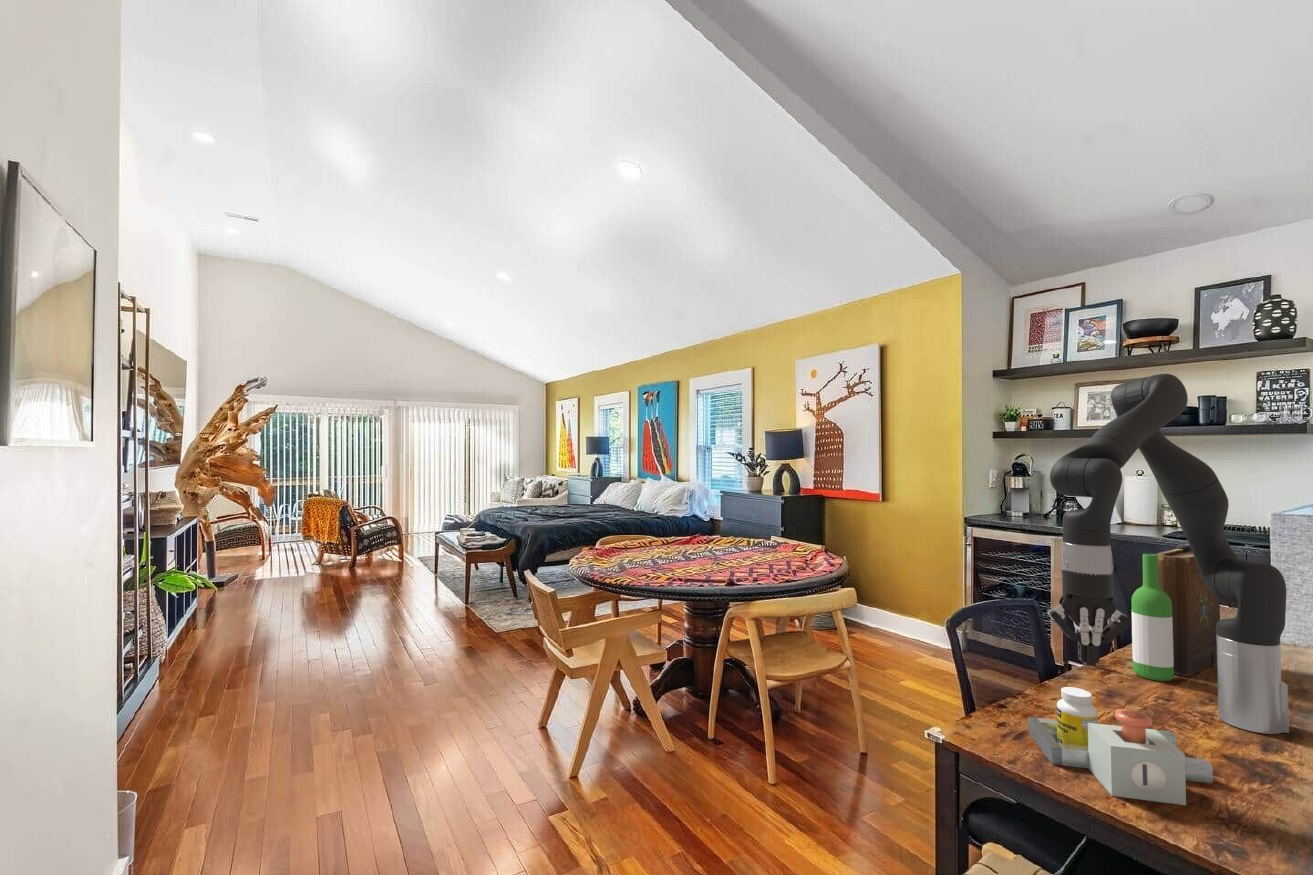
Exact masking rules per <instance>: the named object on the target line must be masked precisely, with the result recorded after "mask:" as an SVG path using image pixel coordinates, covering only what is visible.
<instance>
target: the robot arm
mask: <svg viewBox="0 0 1313 875" xmlns="http://www.w3.org/2000/svg"><path fill="white" fill-rule="evenodd" d="M1188 398H1189V397H1188V392H1187V388H1186V387H1185V385H1184V383H1183V382H1182V381H1181V380H1180V379H1179V377H1177V376H1175V375H1173V374H1169V373H1158V374H1154V375H1149V376H1146V377H1140V378H1139V379H1134V380H1131V381H1127V382H1124V383H1119V384H1118V385H1115V386H1114V387H1113V388H1112V390H1111V393H1110V399H1111V400H1110V401H1111V405H1112V407H1113V410H1114V412H1115V414H1116V416H1117V417H1115V418H1114V419H1111V420H1110V421H1109V422H1106V424H1104V425H1103V426H1102V427H1100V428H1099V429H1098V430H1097V431H1095V433H1094V434H1093V435H1092V436H1091V438H1090V439H1089V440H1088V441H1086V443H1085V444H1083V445H1080V446H1078V447H1077V448H1075V449H1073V450H1071V451H1070V452H1067V453H1065V454H1064V455H1063V456H1061V457H1060V458H1058V460H1057V461H1056V462H1054V464H1053V466H1052V467H1051V470H1050V473H1049V482H1050V484H1051V487H1052V488H1053V489H1054V490H1055V492H1057V493H1059V494H1060V495H1063V496H1067V497H1078V498H1079V497H1082V498H1091V501H1090V503H1089V505H1088V506H1087V507H1086V508H1080V509H1070V510H1067V511H1065V512H1064V514H1063V516H1062V550H1061V593H1062V594H1061V598H1060V599H1059V603H1058V605H1056V606H1055V607H1053V608H1047V609H1046V615H1048V616H1049V618H1050V619H1051V620H1052V621H1053V622H1054V623H1055V625H1056V626H1057V627H1058V628H1059V629H1060V630H1061V632H1063V634H1064V635H1065V636H1066V637H1068V638H1069V639H1070V640H1071V641H1074V642H1077V657H1078V660H1079V661H1080V662H1081V663H1082V664H1083V665H1084V666H1089V667H1096V666H1097V664H1099V663H1100V646H1101V645H1103V644H1110V643H1112V642H1114V640H1115V639H1116V638H1117V637H1118V636H1119V635H1120V634H1121V633H1122V632H1123V631H1124V630H1125V629H1126V628H1127V626H1128V625H1130V624H1131V623H1132V617H1129V615H1126V614H1124V613H1122V612H1121V611H1119V610H1118V609H1117V605H1116V603H1115V600H1114V570H1115V569H1114V568H1115V567H1114V566H1115V565H1114V560H1113V558H1114V557H1113V553H1112V546H1111V544H1112V542H1111V541H1112V540H1111V533H1112V532H1111V522H1112V518H1113V512H1114V509H1115V505H1116V502H1117V500H1118V497H1119V494H1120V491H1121V487H1122V484H1123V472H1122V470H1121V469H1122V468H1123V467H1125V465H1126V464H1127V463H1128V462H1129V461H1130V459H1131V457H1132V456H1134V454H1135V453H1136V452H1137V450H1139V451H1140V453H1141V454H1142V456H1143V458H1144V459H1145V461H1146V463H1147V465H1148V467H1149V469H1150V471H1151V472H1152V474H1153V476H1154V478H1155V481H1156V482H1157V485H1158V486H1159V489H1160V491H1161V493H1162V495H1163V497H1164V498H1165V500H1166V502H1167V504H1168V506H1169V508H1170V510H1171V511H1172V513H1173V514H1174V516H1175V518H1176V520H1177V522H1178V523H1179V526H1180V529H1181V530H1182V533H1183V534H1184V537H1185V538H1186V540H1187V544H1189V545H1190V547H1191V549H1192V552H1193V555H1194V557H1195V560H1196V563H1197V565H1198V568H1199V571H1200V573H1201V576H1202V578H1203V580H1204V583H1205V585H1206V586H1207V588H1208V589H1209V591H1210V592H1211V593H1212V594H1214V595H1215V596H1216V597H1218V598H1220V600H1223V601H1225V602H1230V603H1234V604H1237V612H1236V615H1235V616H1234V617H1232V618H1222V619H1221V618H1220V620H1219V621H1218V622H1217V624H1216V638H1217V665H1216V666H1217V710H1218V718H1219V719H1220V720H1221V721H1223V723H1226V724H1228V725H1230V726H1233V727H1235V728H1239V729H1242V730H1245V731H1249V732H1254V733H1259V734H1265V735H1279V734H1282V733H1287V734H1290V722H1289V717H1290V716H1289V688H1288V687H1289V686H1288V684H1287V683H1286V682H1284V681H1282V660H1281V658H1282V657H1281V655H1282V654H1281V636H1282V635H1283V632H1284V630H1285V627H1286V613H1287V610H1286V609H1287V584H1286V581H1285V577H1284V576H1283V574H1282V572H1281V571H1280V570H1279V569H1278V568H1277V567H1275V566H1273V565H1271V564H1268V563H1266V562H1261V561H1255V560H1249V559H1242V558H1239V556H1237V555H1236V553H1235V552H1234V549H1232V546H1231V545H1230V543H1229V541H1228V539H1227V537H1226V533H1225V525H1226V524H1225V523H1226V520H1227V517H1228V512H1229V507H1230V506H1229V499H1228V495H1227V493H1226V491H1225V489H1224V487H1223V485H1222V483H1221V481H1220V479H1219V478H1218V476H1217V474H1216V473H1215V471H1214V469H1212V467H1211V466H1210V465H1208V464H1207V463H1206V462H1204V461H1203V460H1201V459H1200V458H1198V457H1197V456H1195V455H1193V454H1191V453H1190V452H1188V451H1186V450H1184V449H1183V448H1182V447H1180V446H1178V445H1176V444H1175V443H1173V442H1172V441H1170V440H1169V439H1168V438H1167V437H1166V436H1165V435H1164V434H1163V433H1162V431H1161V429H1162V428H1163V427H1164V426H1166V425H1167V424H1169V423H1170V422H1172V421H1173V420H1174V419H1176V418H1177V417H1178V416H1180V415H1181V414H1182V413H1183V412H1184V411H1185V409H1186V408H1187V405H1188V401H1189V400H1188ZM1064 612H1065V613H1064ZM1065 614H1066V615H1067V616H1068V617H1069V618H1070V620H1071V621H1073V626H1074V629H1075V630H1074V631H1073V629H1072V628H1071V627H1070V626H1069V625H1068V623H1067V622H1066V621H1065V620H1064V619H1065V618H1066V615H1065ZM1109 619H1110V622H1109V623H1108V624H1107V625H1106V626H1105V627H1104V625H1105V624H1106V623H1107V622H1108V620H1109ZM1103 627H1104V628H1103Z"/></svg>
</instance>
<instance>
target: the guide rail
mask: <svg viewBox="0 0 1313 875" xmlns="http://www.w3.org/2000/svg"><path fill="white" fill-rule="evenodd" d="M1155 730H1156V731H1158V732H1159V733H1160V734H1161V735H1162V736H1164V737H1165V738H1166V739H1167V740H1169V741H1170V742H1171V743H1172V744H1173V745H1175V746H1176V747H1177V736H1176V735H1175V734H1174V733H1173V732H1171V731H1169V730H1162V729H1161V730H1159V729H1155ZM1027 733H1028V734H1029V735H1030V737H1031V738H1032V739H1033V741H1034V742H1035V743H1036V745H1037V746H1038V748H1039V749H1040V750H1041V752H1042V753H1043V754H1044V756H1045V757H1046V758H1047V759H1048V761H1049V763H1051V764H1052V765H1056V766H1064V767H1074V768H1079V769H1081V768H1082V769H1088V770H1089V759H1088V746H1081V745H1072V744H1063V743H1057V719H1051V718H1044V717H1043V718H1042V717H1041V718H1040V717H1032V716H1027ZM1213 776H1214V774H1213V764H1211V763H1210V762H1209V761H1208V760H1206V759H1204V758H1197V757H1188V756H1185V780H1186V781H1189V782H1190V781H1191V782H1197V783H1206V784H1214V782H1213V781H1214V779H1213V778H1214V777H1213Z"/></svg>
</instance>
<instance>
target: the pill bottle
mask: <svg viewBox="0 0 1313 875" xmlns="http://www.w3.org/2000/svg"><path fill="white" fill-rule="evenodd" d="M1060 691H1061V693H1060V694H1061V699H1059V700H1058V701H1057V702H1056V720H1057V740H1056V742H1057V743H1063V744H1072V745H1081V746H1088V723H1095V724H1099V723H1098V718H1099V717H1098V715H1099V714H1098V711H1097V709H1096V708H1095V706H1094V705H1093V704H1092V703H1093V695H1092V693H1091V692H1090V691H1088V690H1085V689H1083V688H1079V687H1074V686H1064V687H1062V688H1061V689H1060Z"/></svg>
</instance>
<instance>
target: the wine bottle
mask: <svg viewBox="0 0 1313 875" xmlns="http://www.w3.org/2000/svg"><path fill="white" fill-rule="evenodd" d="M1131 640H1132V641H1131V644H1132V645H1131V646H1132V652H1131V653H1132V669H1133V672H1134V673H1135V674H1136V675H1137V676H1139V677H1141V678H1144V679H1147V680H1151V681H1156V682H1157V681H1158V682H1170V681H1171V680H1173V678H1174V675H1175V674H1174V658H1173V623H1172V603H1171V600H1170V598H1169V596H1168V595H1167V594H1166V593H1165V592H1164V591H1163V590H1161V589H1160V587H1159V574H1158V555H1156V554H1154V553H1143V554H1142V585H1141V586H1140V587H1139V588H1137V589H1136V590H1135V591H1134V592H1133V594H1132V595H1131Z"/></svg>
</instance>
